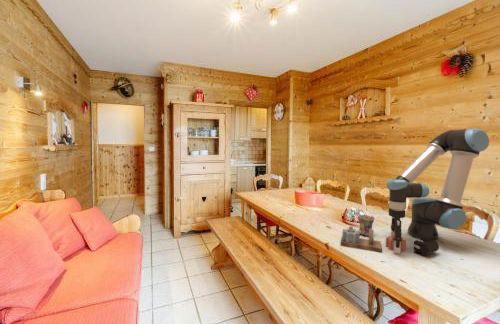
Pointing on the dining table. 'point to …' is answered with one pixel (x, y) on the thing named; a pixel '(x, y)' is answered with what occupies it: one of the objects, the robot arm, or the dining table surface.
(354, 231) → the gear
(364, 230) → the mug
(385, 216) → the dining table surface
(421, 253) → the end cap
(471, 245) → the dining table surface
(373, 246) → the gear board
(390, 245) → the red gear
